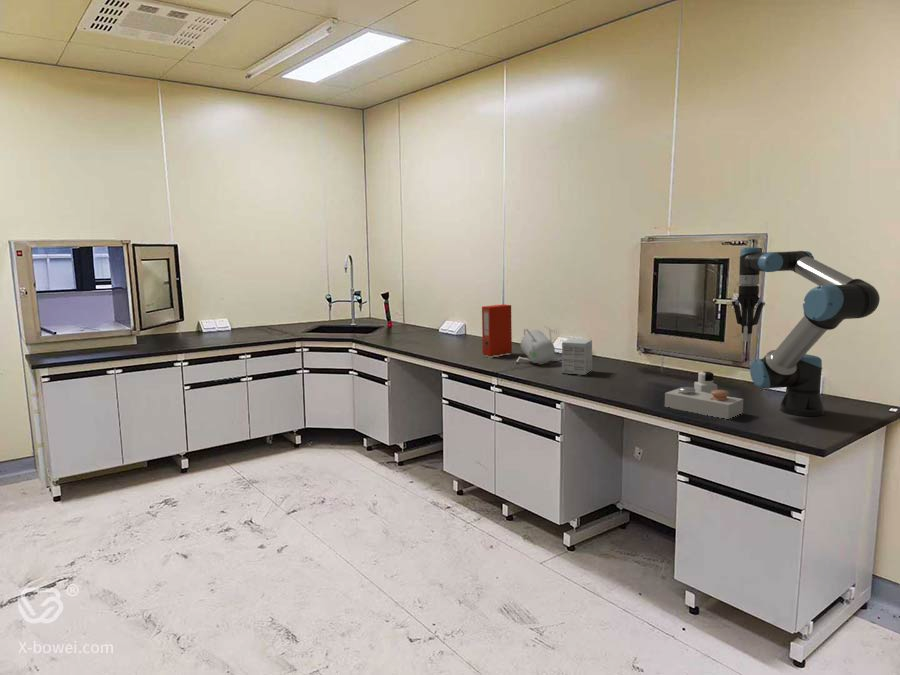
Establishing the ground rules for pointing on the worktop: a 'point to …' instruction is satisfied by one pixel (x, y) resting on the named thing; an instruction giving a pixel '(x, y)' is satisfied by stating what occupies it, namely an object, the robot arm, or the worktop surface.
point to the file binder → (496, 329)
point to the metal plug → (687, 390)
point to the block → (704, 404)
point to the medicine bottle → (705, 382)
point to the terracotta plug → (720, 395)
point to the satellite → (537, 346)
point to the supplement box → (577, 356)
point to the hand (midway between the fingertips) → (746, 341)
